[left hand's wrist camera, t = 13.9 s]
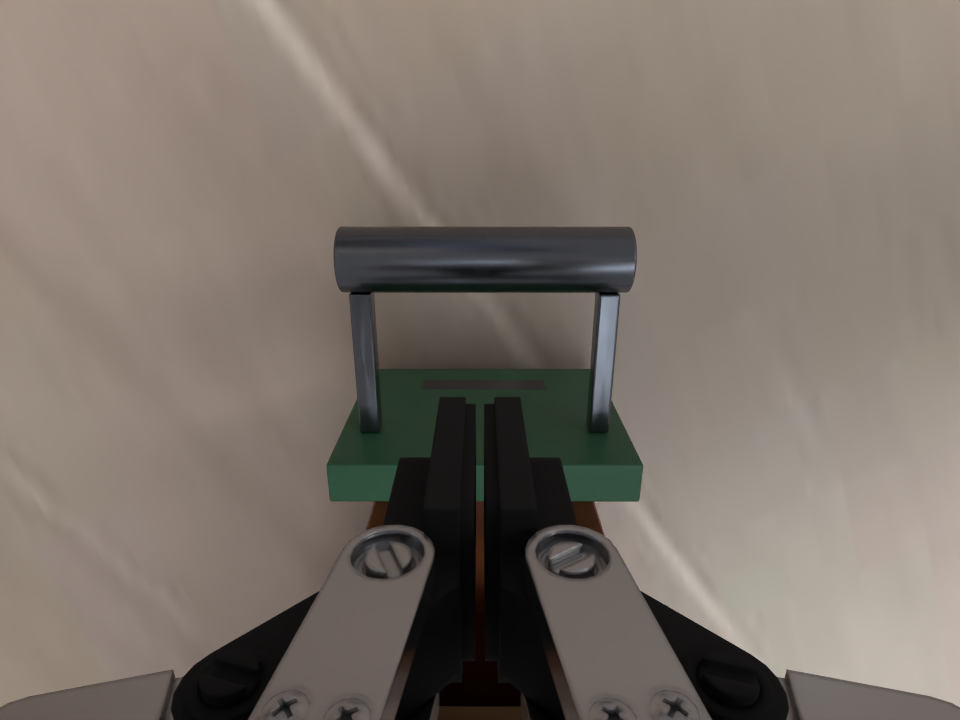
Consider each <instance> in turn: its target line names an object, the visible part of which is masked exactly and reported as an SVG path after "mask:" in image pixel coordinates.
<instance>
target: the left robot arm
mask: <svg viewBox="0 0 960 720" xmlns="http://www.w3.org/2000/svg"><path fill="white" fill-rule="evenodd" d="M475 595H476V404H466V397H440V398H439V405H438V411H437V418H436V425H435V431H434V438H433V444H432V451H431V457H401V458H400V459H399V462H398V466H397V470H396V474H395V478H394V482H393V486H392V490H391V494H390V498H389V502H388V506H387V511H386V515H385V519H384V523H383V526H379V527H373V528H371V529H368V530H366V531H364V532H361V533H360V534H358V535H357V536H355V537H354V538H352V539H351V540H350V541H349V542H348V543H347V545H346V546H345V547H344V548H343V550H342V552H341V554H340V555H339V557H338V559H337V561H336V563H335V564H334V566H333V568H332V570H331V572H330V573H329V575H328V577H327V579H326V581H325V582H324V584H323V586H322V588H321V590H320V591H319V592H317V593H315V594H313V595H312V596H310V597H308V598H307V599H305V600H303V601H301V602H300V603H298V604H296V605H294V606H293V607H291V608H289V609H287V610H286V611H284V612H282V613H280V614H279V615H277V616H275V617H273V618H272V619H270V620H268V621H267V622H265V623H263V624H261V625H260V626H258V627H256V628H254V629H253V630H251V631H249V632H247V633H246V634H244V635H242V636H240V637H239V638H237V639H235V640H234V641H232V642H230V643H228V644H227V645H225V646H223V647H221V648H220V649H218V650H216V651H214V652H213V653H211V654H209V655H208V656H206V657H205V658H204V659H202V660H201V661H199V662H198V663H197V664H195V665H194V666H193V667H192V668H191V669H190V670H189V671H188V673H187V674H186V675H185V676H184V677H181V678H175V675H174V671H173V670H168V671H163V672H157V673H152V674H147V675H141V676H136V677H131V678H125V679H120V680H115V681H109V682H104V683H98V684H93V685H88V686H82V687H77V688H72V689H66V690H61V691H56V692H50V693H45V694H40V695H34V696H29V697H26V698H23V699H20V700H17V701H13V702H10V703H8V704H6V705H4V706H2V707H0V720H437V717H438V713H439V702H440V696H439V691H441V690H442V689H443V688H444V687H446V686H447V685H448V684H449V683H462V664H463V661H475ZM484 595H485V661H497V664H498V683H511V684H512V685H513V686H514V687H516V688H517V689H518V690H519V691H521V696H520V702H521V713H522V717H523V720H960V707H958V706H956V705H954V704H952V703H950V702H947V701H943V700H940V699H937V698H934V697H931V696H926V695H920V694H915V693H910V692H904V691H899V690H894V689H888V688H883V687H878V686H872V685H867V684H862V683H856V682H851V681H845V680H840V679H835V678H829V677H824V676H819V675H813V674H808V673H803V672H797V671H792V670H787V671H786V675H785V678H779V677H776V676H775V675H774V674H773V673H772V671H771V670H770V669H769V668H768V667H767V666H766V665H765V664H763V663H762V662H761V661H759V660H758V659H756V658H755V657H754V656H752V655H751V654H749V653H747V652H746V651H744V650H742V649H740V648H739V647H737V646H735V645H733V644H732V643H730V642H728V641H726V640H725V639H723V638H721V637H720V636H718V635H716V634H714V633H713V632H711V631H709V630H707V629H706V628H704V627H702V626H700V625H699V624H697V623H695V622H693V621H692V620H690V619H688V618H687V617H685V616H683V615H681V614H680V613H678V612H676V611H674V610H673V609H671V608H669V607H667V606H666V605H664V604H662V603H660V602H659V601H657V600H655V599H653V598H652V597H650V596H648V595H647V594H645V593H643V592H641V591H640V590H639V588H638V586H637V584H636V582H635V581H634V579H633V577H632V575H631V573H630V572H629V570H628V568H627V566H626V564H625V563H624V561H623V559H622V557H621V555H620V554H619V552H618V550H617V548H616V547H615V546H614V545H613V544H612V542H611V541H610V540H609V539H608V538H606V537H605V536H603V535H602V534H600V533H599V532H596V531H594V530H592V529H589V528H587V527H581V526H577V523H576V519H575V515H574V511H573V506H572V502H571V498H570V494H569V490H568V486H567V482H566V478H565V474H564V470H563V466H562V462H561V459H560V458H559V457H529V451H528V444H527V438H526V431H525V425H524V418H523V411H522V405H521V398H520V397H494V404H484Z"/></svg>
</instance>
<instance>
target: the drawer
mask: <svg viewBox="0 0 960 720" xmlns="http://www.w3.org/2000/svg"><path fill="white" fill-rule="evenodd" d="M636 262H637V248H636V239H635V235H634V232H633V230H632V228H630V227H339V228H338V230H337V232H336V235H335V241H334V269H335V276H336V281H337V284H338V287H339V289H340V291H341V292H351V293H350V295H349V299H350V311H351V324H352V336H353V349H354V361H355V374H356V386H357V400H356V402H355V405H354V407H353V409H352V411H351V413H350V415H349V418H348V420H347V422H346V424H345V426H344V428H343V431H342V433H341V435H340V437H339V439H338V442H337V444H336V446H335V448H334V450H333V452H332V455H331V457H330V459H329V461H328V463H327V475H328V485H329V494H330V500H331V501H374V504H373V508H372V511H371V515H370V518H369V522H368V525H367V529H366V530H368V529H371V528H373V527H379V526H383V523H384V519H385V515H386V511H387V506H388V502H389V498H390V494H391V490H392V486H393V482H394V478H395V474H396V470H397V466H398V462H399V459H400V458H401V457H431V451H432V444H433V438H434V431H435V425H436V418H437V411H438V405H439V398H440V397H466V404H476V595H475V661H463V664H462V683H449V684H448V685H447V686H446V687H444V688H443V689H442V690H441V691H439V696H440V702H439V706H521V702H520V696H521V691H519V690H518V689H517V688H516V687H514V686H513V685H512V684H511V683H498V664H497V661H485V595H484V404H494V397H520V398H521V405H522V411H523V418H524V425H525V431H526V438H527V444H528V451H529V457H559V458H560V459H561V462H562V466H563V470H564V474H565V478H566V482H567V486H568V490H569V494H570V498H571V502H572V506H573V511H574V515H575V519H576V523H577V526H581V527H587V528H589V529H592V530H594V531H596V532H599V533H600V534H602V535H603V536H604V533H603V529H602V526H601V523H600V520H599V516H598V513H597V510H596V507H595V503H594V501H639V498H640V489H641V480H642V471H643V464H642V462H641V460H640V458H639V456H638V454H637V452H636V450H635V448H634V446H633V444H632V442H631V440H630V438H629V436H628V434H627V431H626V429H625V427H624V425H623V423H622V421H621V419H620V417H619V415H618V413H617V411H616V409H615V407H614V405H613V403H612V401H611V397H612V385H613V374H614V362H615V351H616V339H617V328H618V316H619V305H620V294H619V293H626V292H629V291H630V289H631V287H632V285H633V282H634V277H635V272H636ZM374 293H596V294H595V308H594V322H593V336H592V350H591V364H590V369H379V362H378V347H377V331H376V316H375V300H374Z"/></svg>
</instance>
